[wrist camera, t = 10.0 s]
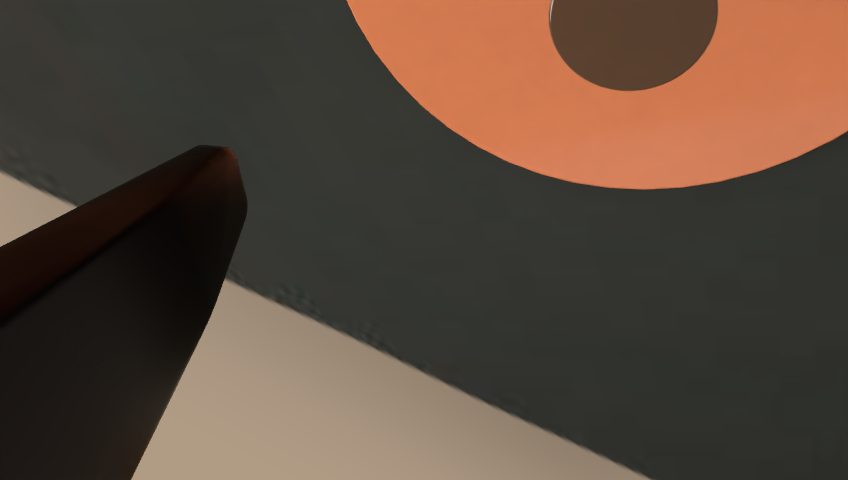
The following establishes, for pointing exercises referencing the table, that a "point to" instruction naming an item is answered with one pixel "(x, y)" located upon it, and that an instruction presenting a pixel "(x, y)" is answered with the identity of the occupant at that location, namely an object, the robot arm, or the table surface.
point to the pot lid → (624, 81)
